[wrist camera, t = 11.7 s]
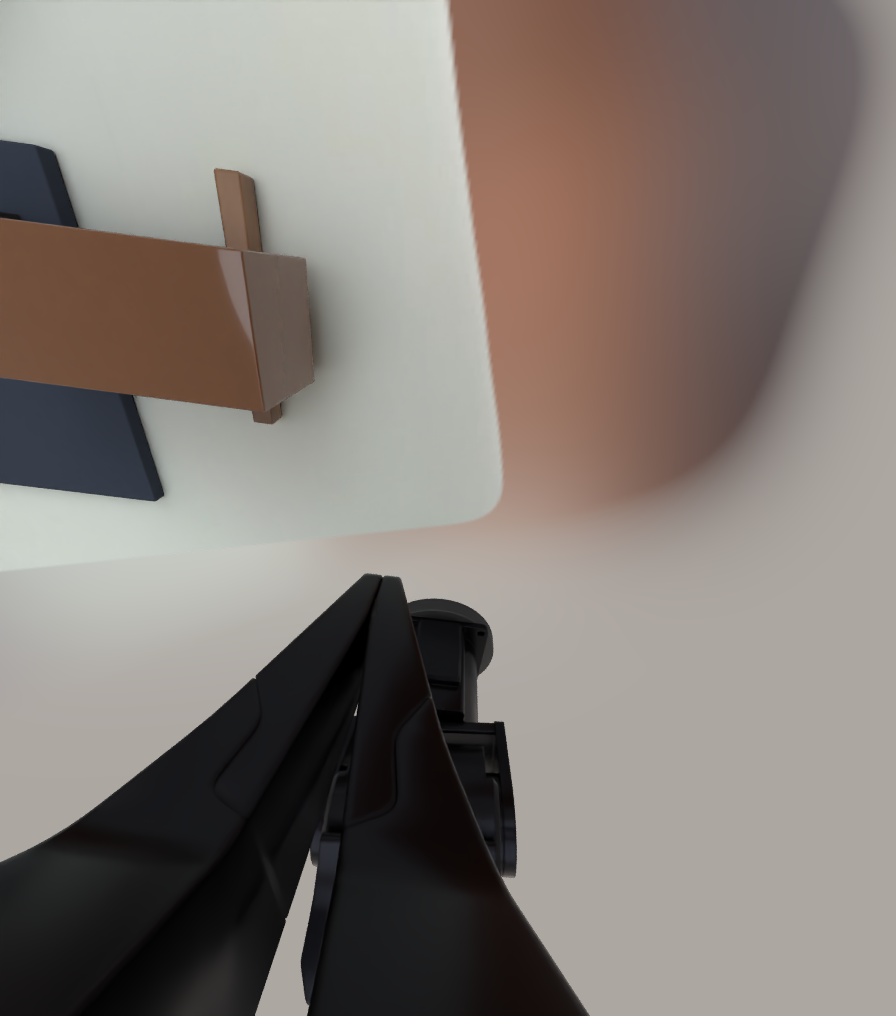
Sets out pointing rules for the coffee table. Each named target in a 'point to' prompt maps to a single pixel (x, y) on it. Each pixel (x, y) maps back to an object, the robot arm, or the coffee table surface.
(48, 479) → the mat
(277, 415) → the stop
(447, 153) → the coffee table surface
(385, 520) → the coffee table surface
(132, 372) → the brown capped block
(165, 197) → the coffee table surface
